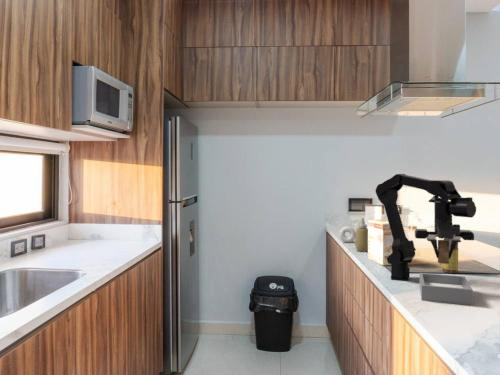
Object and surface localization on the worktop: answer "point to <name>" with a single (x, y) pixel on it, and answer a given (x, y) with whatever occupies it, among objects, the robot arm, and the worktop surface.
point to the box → (445, 289)
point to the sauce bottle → (451, 261)
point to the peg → (443, 251)
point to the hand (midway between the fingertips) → (443, 258)
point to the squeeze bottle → (361, 237)
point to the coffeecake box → (379, 241)
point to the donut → (350, 230)
